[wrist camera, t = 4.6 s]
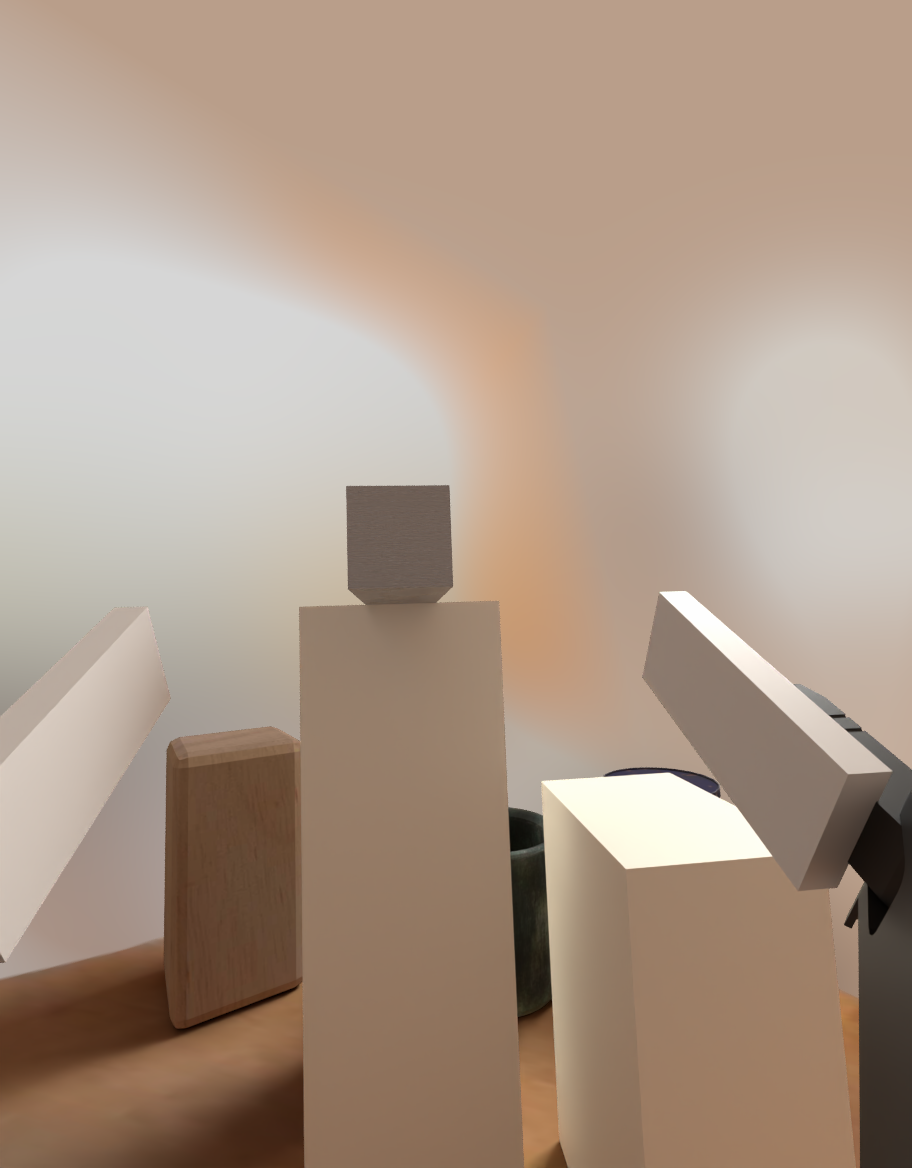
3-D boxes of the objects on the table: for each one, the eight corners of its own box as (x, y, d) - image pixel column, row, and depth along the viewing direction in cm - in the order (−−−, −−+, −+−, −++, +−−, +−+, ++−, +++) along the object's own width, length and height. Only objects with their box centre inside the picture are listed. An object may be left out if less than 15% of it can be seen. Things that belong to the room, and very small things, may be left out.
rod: (348, 589, 18) (346, 486, 18) (377, 615, 39) (376, 568, 40) (453, 586, 18) (449, 485, 18) (424, 613, 40) (423, 567, 40)
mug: (453, 1044, 37) (447, 864, 38) (414, 933, 51) (410, 803, 52) (593, 1009, 40) (583, 843, 41) (519, 913, 54) (513, 791, 55)
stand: (305, 1287, 23) (299, 606, 26) (341, 1044, 37) (334, 616, 40) (527, 1251, 24) (499, 600, 27) (482, 1028, 38) (465, 612, 41)
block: (308, 988, 43) (306, 738, 45) (170, 1040, 38) (173, 756, 40) (279, 932, 52) (278, 723, 54) (162, 969, 47) (166, 737, 49)
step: (664, 1476, 18) (625, 869, 20) (559, 1140, 30) (541, 781, 32) (881, 1430, 19) (825, 851, 20) (694, 1120, 31) (669, 772, 32)
